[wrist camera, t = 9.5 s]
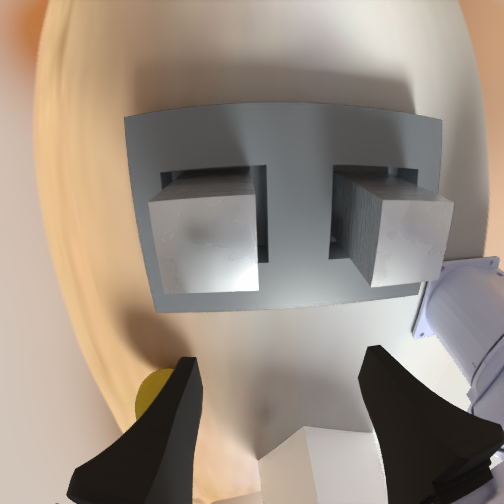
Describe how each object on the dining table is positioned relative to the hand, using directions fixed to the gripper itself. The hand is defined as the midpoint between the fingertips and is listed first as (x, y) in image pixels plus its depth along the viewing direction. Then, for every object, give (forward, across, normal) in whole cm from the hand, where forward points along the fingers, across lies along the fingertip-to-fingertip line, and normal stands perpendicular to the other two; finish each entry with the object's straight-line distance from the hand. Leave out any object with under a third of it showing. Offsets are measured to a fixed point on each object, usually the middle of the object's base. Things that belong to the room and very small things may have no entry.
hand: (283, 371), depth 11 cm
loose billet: (+9, +3, -5) cm, 11 cm away
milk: (+10, -7, +29) cm, 32 cm away
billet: (+9, -6, -5) cm, 12 cm away
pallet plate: (+10, -2, -5) cm, 11 cm away
